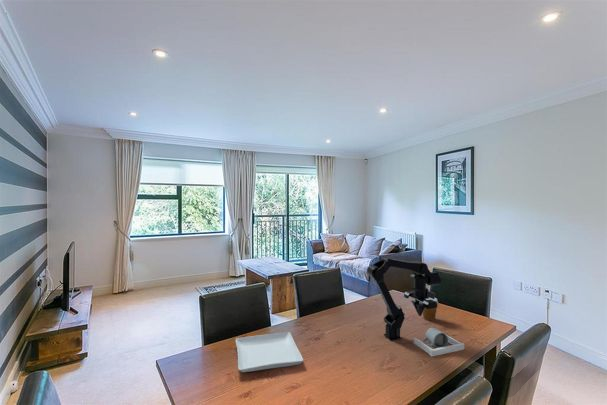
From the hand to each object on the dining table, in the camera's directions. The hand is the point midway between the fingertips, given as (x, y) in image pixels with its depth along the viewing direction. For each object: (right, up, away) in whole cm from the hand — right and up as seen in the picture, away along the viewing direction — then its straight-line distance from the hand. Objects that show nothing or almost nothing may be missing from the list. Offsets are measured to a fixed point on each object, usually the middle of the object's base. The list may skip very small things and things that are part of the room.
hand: (419, 315), depth 153 cm
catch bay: (+4, -10, -11) cm, 15 cm away
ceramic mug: (+2, -10, -11) cm, 15 cm away
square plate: (-77, -11, -20) cm, 80 cm away
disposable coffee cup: (+13, -10, +20) cm, 25 cm away
